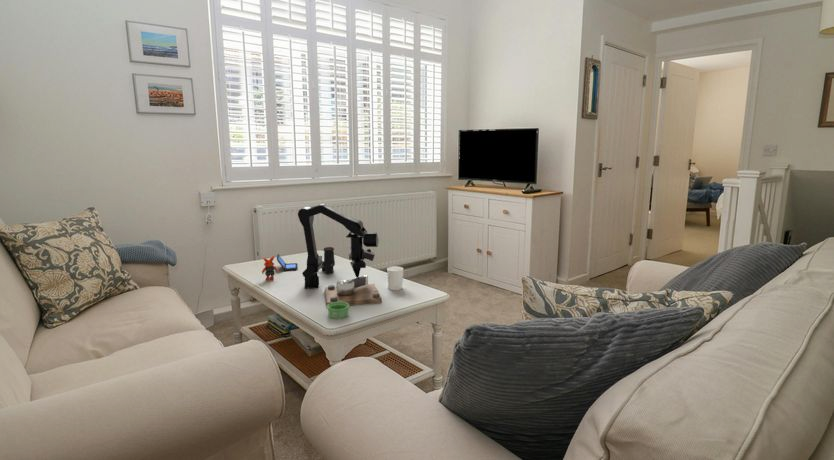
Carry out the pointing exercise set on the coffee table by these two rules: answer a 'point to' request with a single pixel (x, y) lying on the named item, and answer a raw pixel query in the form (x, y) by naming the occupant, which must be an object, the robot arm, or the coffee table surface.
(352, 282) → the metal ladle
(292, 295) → the coffee table surface
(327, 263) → the scope
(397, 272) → the white cup
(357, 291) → the base plate
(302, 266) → the coffee table surface
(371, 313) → the coffee table surface
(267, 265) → the toy animal
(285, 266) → the handheld game console
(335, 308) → the ramekin
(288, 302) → the coffee table surface
